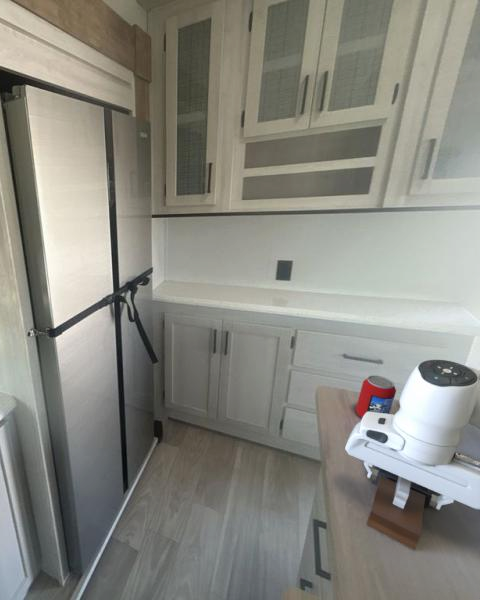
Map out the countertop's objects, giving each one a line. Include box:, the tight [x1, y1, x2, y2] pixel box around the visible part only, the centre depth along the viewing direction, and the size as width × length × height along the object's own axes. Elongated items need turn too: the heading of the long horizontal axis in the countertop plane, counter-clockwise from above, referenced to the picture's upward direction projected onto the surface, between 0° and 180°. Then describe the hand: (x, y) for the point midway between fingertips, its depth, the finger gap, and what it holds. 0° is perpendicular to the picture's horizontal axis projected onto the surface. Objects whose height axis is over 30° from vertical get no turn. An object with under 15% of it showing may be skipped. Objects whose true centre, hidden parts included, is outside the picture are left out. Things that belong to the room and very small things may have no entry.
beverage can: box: [355, 375, 397, 419], centre depth 90 cm, size 7×7×12 cm
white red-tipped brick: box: [393, 476, 411, 509], centre depth 67 cm, size 8×2×4 cm, turn 133°
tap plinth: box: [366, 476, 425, 551], centre depth 67 cm, size 11×7×4 cm, turn 133°
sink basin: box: [370, 466, 434, 509], centre depth 75 cm, size 14×9×4 cm, turn 133°
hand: (401, 490), depth 68 cm, fingers open, 8 cm apart
